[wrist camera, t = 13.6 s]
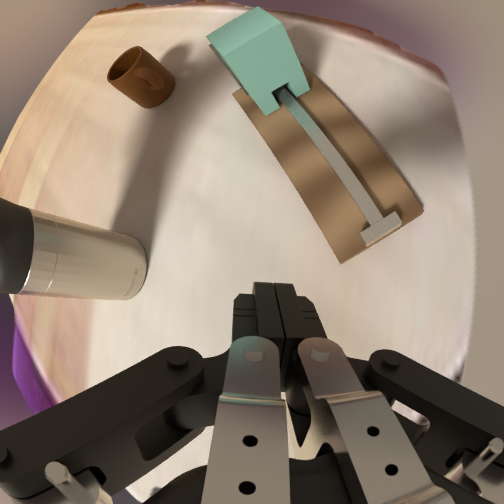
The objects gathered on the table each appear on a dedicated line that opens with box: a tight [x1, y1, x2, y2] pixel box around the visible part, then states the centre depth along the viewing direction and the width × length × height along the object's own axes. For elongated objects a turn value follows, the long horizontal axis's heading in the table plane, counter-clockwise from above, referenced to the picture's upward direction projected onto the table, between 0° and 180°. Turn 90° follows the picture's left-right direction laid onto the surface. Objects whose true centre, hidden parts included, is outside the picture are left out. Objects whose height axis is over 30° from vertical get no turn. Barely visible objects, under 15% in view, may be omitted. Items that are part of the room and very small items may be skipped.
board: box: [232, 63, 424, 264], centre depth 30 cm, size 26×10×1 cm, turn 26°
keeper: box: [206, 6, 310, 116], centre depth 27 cm, size 5×6×11 cm
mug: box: [107, 46, 175, 108], centre depth 38 cm, size 12×8×9 cm, turn 48°
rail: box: [209, 44, 402, 247], centre depth 26 cm, size 26×7×9 cm, turn 26°
